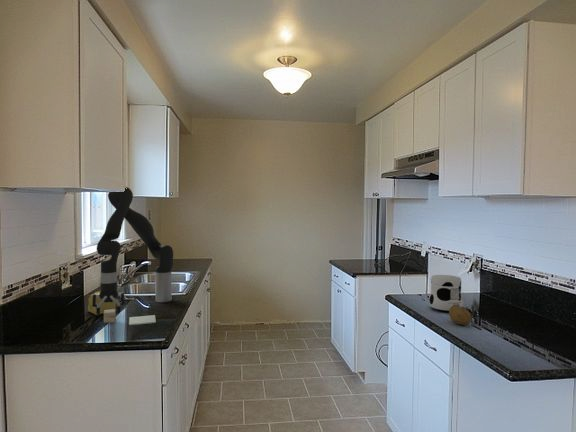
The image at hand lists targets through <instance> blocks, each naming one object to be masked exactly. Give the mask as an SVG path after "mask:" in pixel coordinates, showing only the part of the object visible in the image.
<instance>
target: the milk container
mask: <svg viewBox="0 0 576 432" xmlns="http://www.w3.org/2000/svg"><path fill="white" fill-rule="evenodd" d="M428 305H429V306H430V308H431V309H433V310H436V311H439V312H444V313H449V309H450V308H451V307H452V306H460V307H462V308H463V305H464V303H463V297H462V278H461V277H460V276H455V275H449V274H435V275H431V277H430V294H429V297H428Z"/></svg>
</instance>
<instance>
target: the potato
mask: <svg viewBox="0 0 576 432" xmlns="http://www.w3.org/2000/svg"><path fill="white" fill-rule="evenodd" d="M448 316H449V319H450V321H452V322H453V323H455V324H456V325H462V326H466V325H469V324H470V323H471V322H472V320H473V319H472V318H473V317H472V314H471V313H470V311H469V310H468V309H466V308H463V306H462V307H460V306H452V307H451V308H450V309H449V312H448Z"/></svg>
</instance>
